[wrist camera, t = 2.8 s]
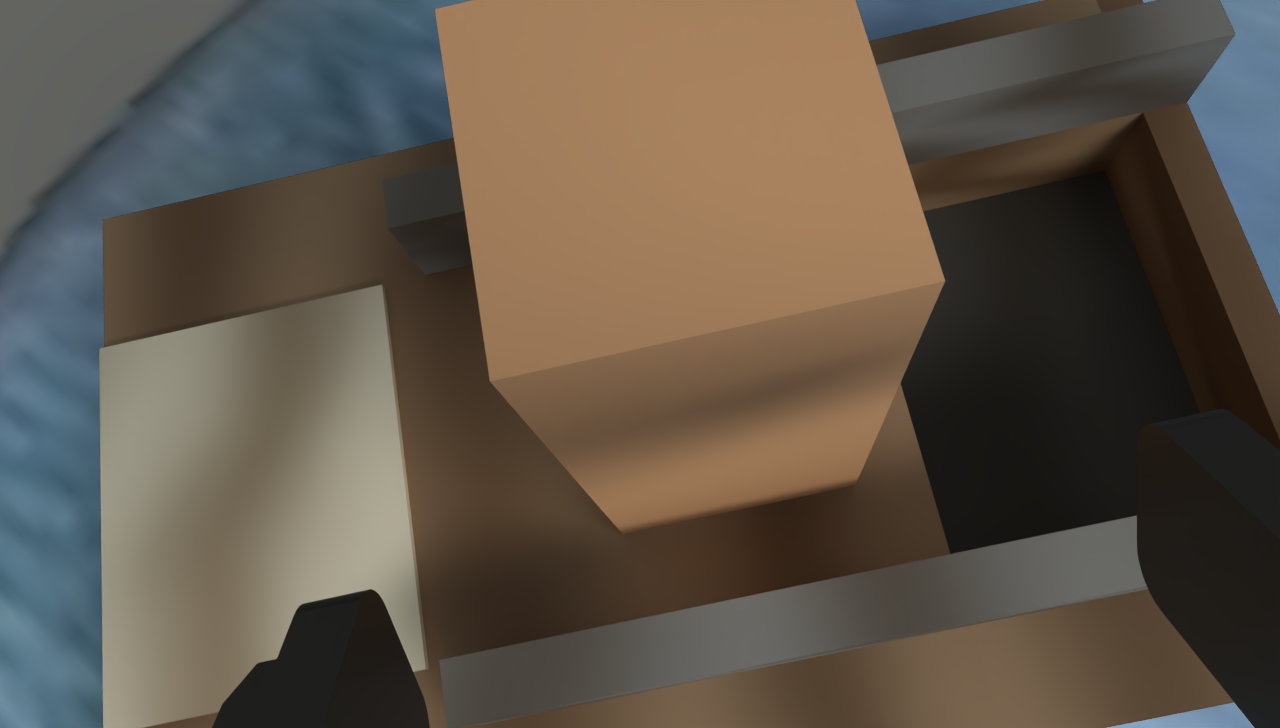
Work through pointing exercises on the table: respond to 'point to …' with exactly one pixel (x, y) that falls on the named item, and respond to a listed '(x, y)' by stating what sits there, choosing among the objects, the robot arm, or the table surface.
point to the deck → (725, 543)
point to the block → (688, 242)
